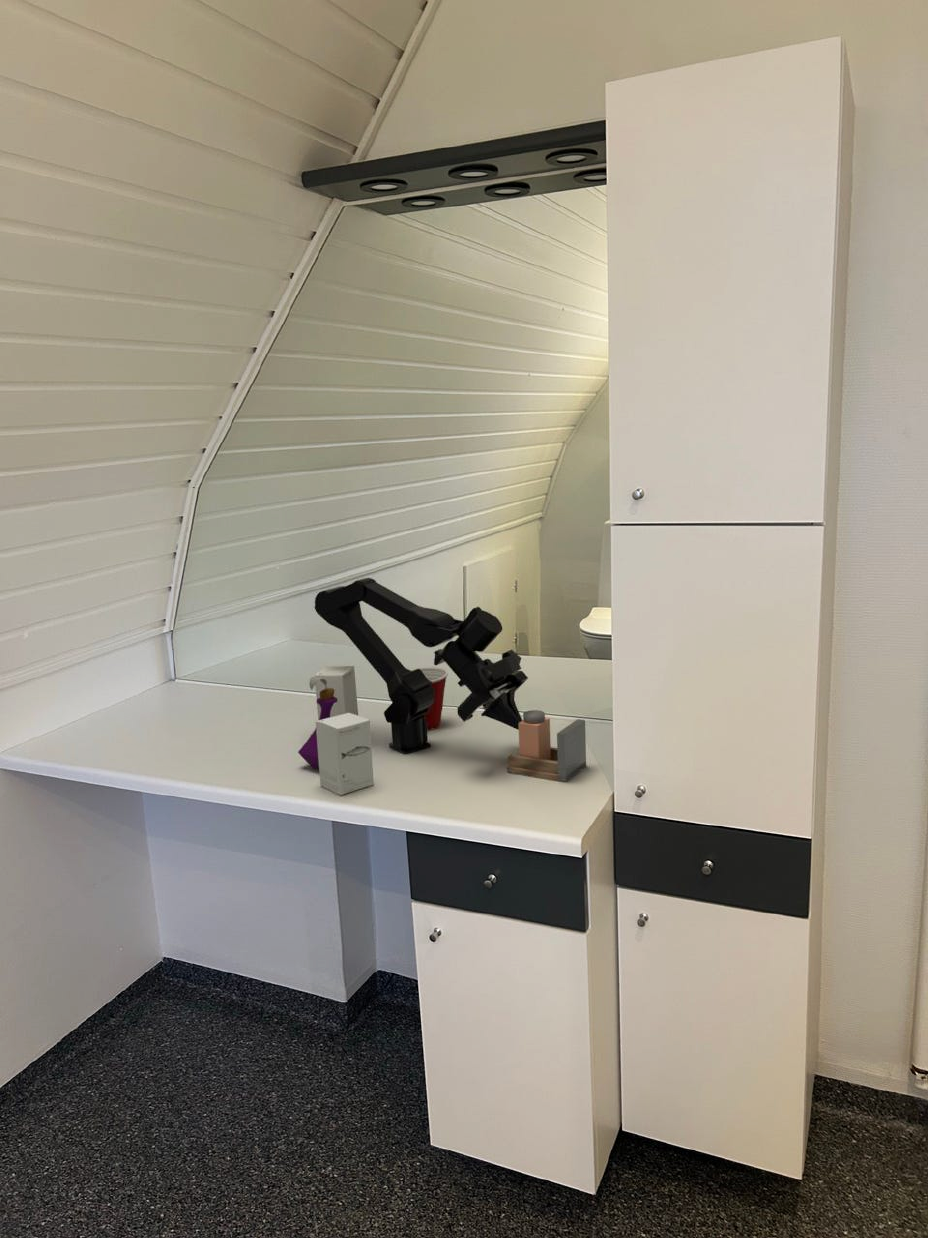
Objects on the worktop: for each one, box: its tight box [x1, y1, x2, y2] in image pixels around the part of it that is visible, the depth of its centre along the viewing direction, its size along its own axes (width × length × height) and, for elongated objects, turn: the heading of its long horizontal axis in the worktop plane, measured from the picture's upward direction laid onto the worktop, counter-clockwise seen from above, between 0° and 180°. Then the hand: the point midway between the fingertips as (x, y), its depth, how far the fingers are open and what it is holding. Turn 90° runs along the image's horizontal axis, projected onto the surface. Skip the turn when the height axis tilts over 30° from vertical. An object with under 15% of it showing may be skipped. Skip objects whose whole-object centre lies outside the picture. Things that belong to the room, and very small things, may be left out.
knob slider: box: [518, 709, 552, 760], centre depth 175 cm, size 4×5×9 cm
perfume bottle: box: [297, 676, 338, 770], centre depth 181 cm, size 8×8×18 cm
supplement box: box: [315, 713, 375, 796], centre depth 171 cm, size 7×7×13 cm
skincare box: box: [313, 665, 359, 721], centre depth 195 cm, size 8×7×16 cm
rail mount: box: [506, 718, 587, 783], centre depth 174 cm, size 12×9×9 cm
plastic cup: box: [409, 666, 449, 731], centre depth 203 cm, size 11×11×12 cm
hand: (522, 728), depth 176 cm, fingers closed
